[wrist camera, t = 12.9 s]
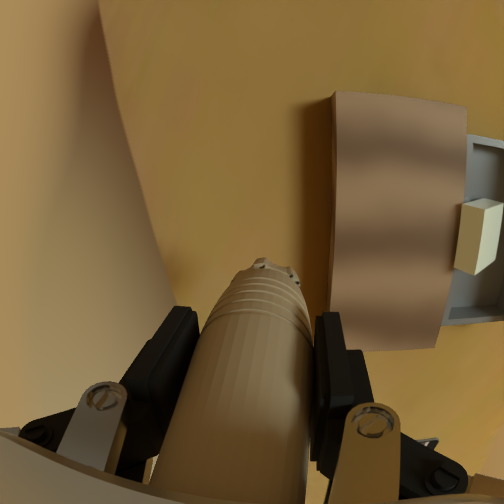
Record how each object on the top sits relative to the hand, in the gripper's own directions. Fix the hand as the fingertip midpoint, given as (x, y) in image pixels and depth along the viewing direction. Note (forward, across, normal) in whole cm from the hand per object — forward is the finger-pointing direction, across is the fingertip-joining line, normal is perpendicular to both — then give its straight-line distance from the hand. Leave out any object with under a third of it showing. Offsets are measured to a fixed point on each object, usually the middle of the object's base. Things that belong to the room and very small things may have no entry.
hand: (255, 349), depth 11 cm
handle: (+5, 0, 0) cm, 5 cm away
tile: (+14, -16, 0) cm, 21 cm away
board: (+16, -9, 0) cm, 18 cm away
